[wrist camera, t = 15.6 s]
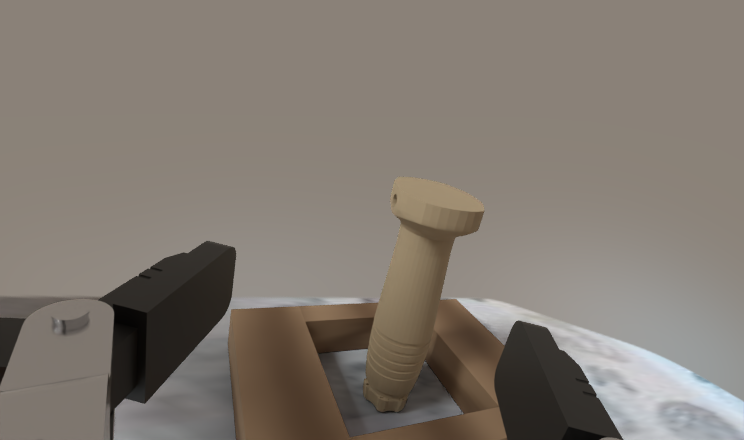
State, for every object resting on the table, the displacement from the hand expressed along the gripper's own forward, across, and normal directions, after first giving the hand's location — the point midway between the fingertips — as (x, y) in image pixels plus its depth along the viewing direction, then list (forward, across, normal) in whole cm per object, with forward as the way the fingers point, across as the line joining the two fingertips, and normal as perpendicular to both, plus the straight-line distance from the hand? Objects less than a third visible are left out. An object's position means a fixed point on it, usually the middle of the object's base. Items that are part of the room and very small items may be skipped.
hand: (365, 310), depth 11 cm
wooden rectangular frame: (+12, -3, +14) cm, 19 cm away
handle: (+12, -3, +14) cm, 19 cm away
